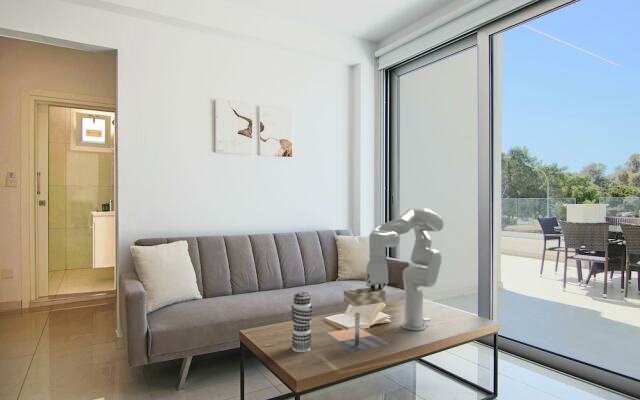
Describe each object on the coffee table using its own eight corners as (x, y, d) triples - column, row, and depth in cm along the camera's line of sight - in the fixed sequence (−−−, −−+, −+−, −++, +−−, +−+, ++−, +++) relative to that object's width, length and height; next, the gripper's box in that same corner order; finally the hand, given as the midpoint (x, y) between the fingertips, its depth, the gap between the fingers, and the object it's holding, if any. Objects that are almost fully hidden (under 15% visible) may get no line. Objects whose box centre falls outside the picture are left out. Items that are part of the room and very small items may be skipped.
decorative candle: (300, 343, 181) (301, 289, 181) (316, 348, 175) (316, 292, 175) (287, 348, 174) (287, 293, 174) (302, 354, 168) (302, 296, 168)
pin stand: (359, 329, 201) (360, 299, 201) (390, 346, 178) (390, 312, 178) (323, 335, 192) (323, 303, 192) (350, 354, 168) (350, 318, 168)
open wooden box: (372, 297, 187) (372, 286, 187) (385, 302, 178) (385, 291, 178) (343, 301, 180) (343, 290, 180) (354, 306, 171) (354, 295, 171)
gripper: (386, 256, 188) (386, 294, 189) (358, 259, 181) (358, 298, 182) (396, 258, 182) (396, 298, 182) (367, 261, 175) (367, 302, 175)
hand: (377, 298), depth 182 cm, fingers closed on open wooden box, 1 cm apart
